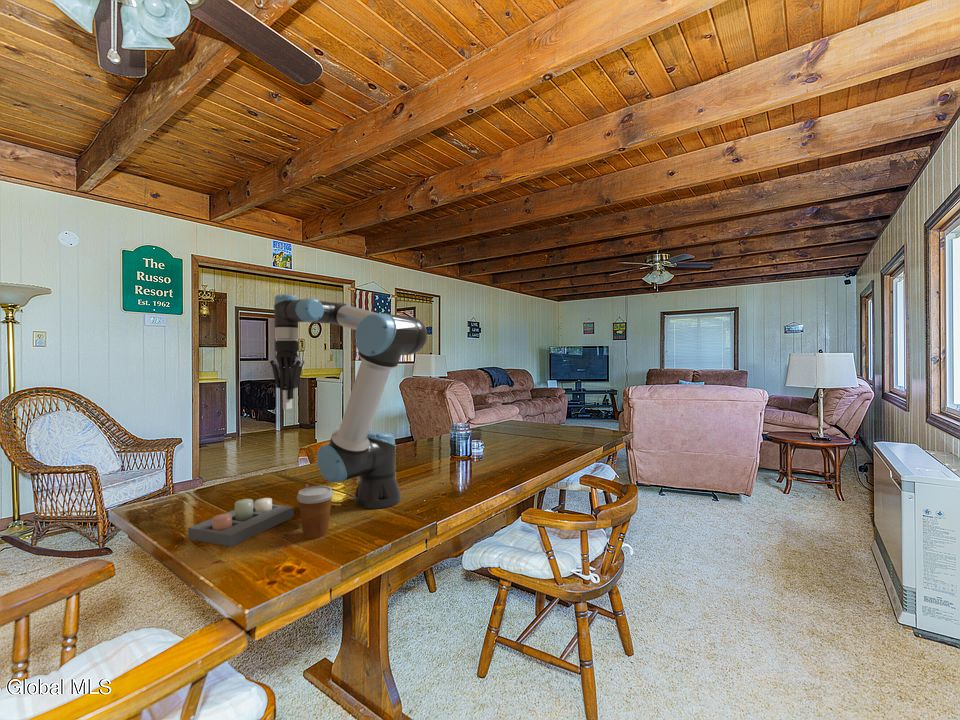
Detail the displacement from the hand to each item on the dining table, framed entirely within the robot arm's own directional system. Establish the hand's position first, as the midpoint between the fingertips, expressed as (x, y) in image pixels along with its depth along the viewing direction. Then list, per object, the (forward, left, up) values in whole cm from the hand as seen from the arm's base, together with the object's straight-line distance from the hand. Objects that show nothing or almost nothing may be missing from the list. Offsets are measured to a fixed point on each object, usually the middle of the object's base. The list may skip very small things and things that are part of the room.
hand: (287, 408), depth 154 cm
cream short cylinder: (-9, +19, -30) cm, 36 cm away
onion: (-15, +8, -31) cm, 35 cm away
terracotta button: (-9, +33, -30) cm, 45 cm away
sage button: (-9, +26, -28) cm, 39 cm away
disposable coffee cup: (-31, +23, -31) cm, 49 cm away
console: (-9, +26, -30) cm, 41 cm away
